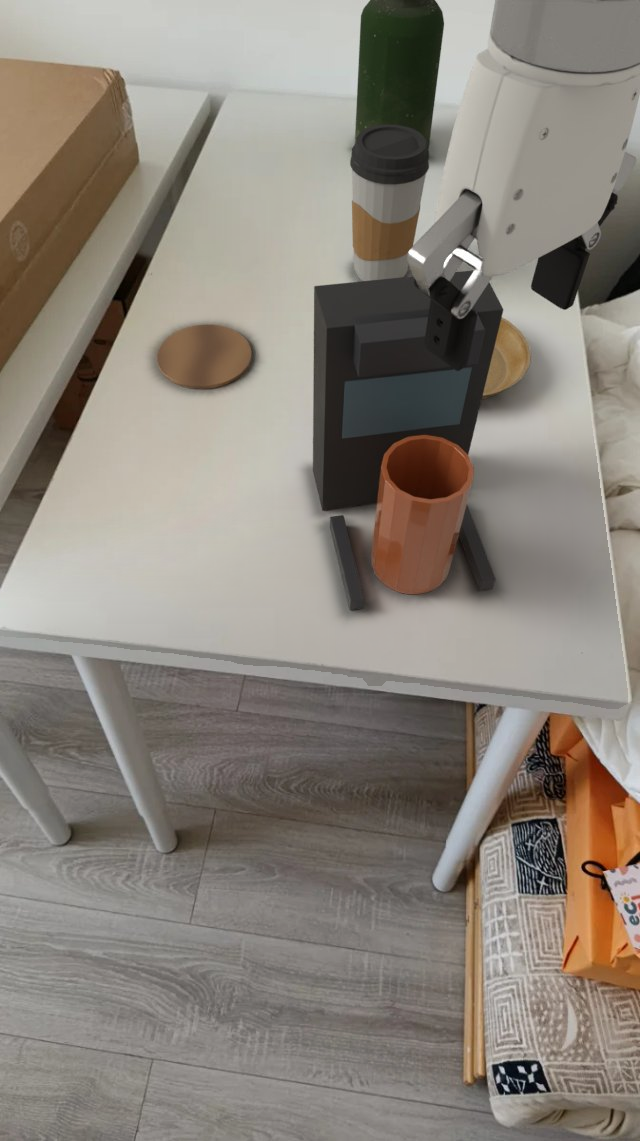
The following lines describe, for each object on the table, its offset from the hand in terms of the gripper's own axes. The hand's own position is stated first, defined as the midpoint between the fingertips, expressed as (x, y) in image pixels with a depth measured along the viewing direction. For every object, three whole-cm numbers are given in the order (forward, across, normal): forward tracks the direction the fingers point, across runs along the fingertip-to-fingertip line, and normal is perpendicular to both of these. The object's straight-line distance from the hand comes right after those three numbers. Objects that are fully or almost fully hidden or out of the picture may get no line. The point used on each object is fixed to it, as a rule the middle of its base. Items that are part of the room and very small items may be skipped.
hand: (499, 327), depth 49 cm
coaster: (+23, +3, -34) cm, 41 cm away
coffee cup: (+23, -22, -34) cm, 47 cm away
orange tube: (+23, +4, -1) cm, 24 cm away
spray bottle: (+23, -43, -55) cm, 74 cm away
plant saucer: (+23, -17, -17) cm, 34 cm away
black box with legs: (+23, +2, -4) cm, 24 cm away
